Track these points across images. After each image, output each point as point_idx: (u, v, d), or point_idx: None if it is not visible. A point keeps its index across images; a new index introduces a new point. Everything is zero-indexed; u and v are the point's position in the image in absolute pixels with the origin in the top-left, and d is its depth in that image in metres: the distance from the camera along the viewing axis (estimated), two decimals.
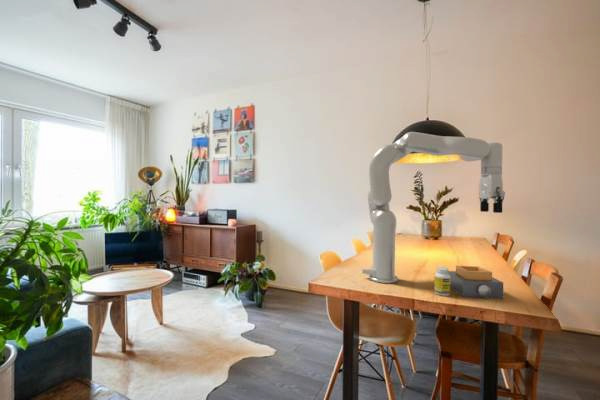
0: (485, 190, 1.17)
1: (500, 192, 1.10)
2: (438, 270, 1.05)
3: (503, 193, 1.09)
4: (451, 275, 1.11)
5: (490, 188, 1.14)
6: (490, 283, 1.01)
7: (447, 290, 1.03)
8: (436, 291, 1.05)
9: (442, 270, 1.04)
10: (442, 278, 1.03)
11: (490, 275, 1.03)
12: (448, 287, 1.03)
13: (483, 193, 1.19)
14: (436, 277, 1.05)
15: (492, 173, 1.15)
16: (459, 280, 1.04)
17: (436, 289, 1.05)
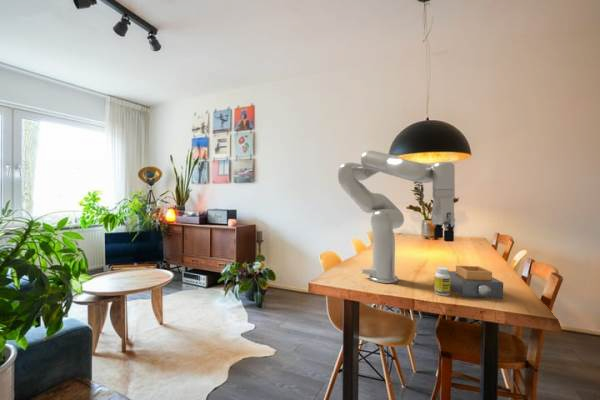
0: (436, 215, 1.05)
1: (450, 219, 0.98)
2: (438, 270, 1.05)
3: (453, 220, 0.97)
4: (451, 275, 1.11)
5: (440, 214, 1.01)
6: (490, 283, 1.01)
7: (447, 290, 1.03)
8: (436, 291, 1.05)
9: (442, 270, 1.04)
10: (442, 278, 1.03)
11: (490, 275, 1.03)
12: (448, 287, 1.03)
13: (435, 218, 1.06)
14: (436, 277, 1.05)
15: (443, 196, 1.02)
16: (459, 280, 1.04)
17: (436, 289, 1.05)
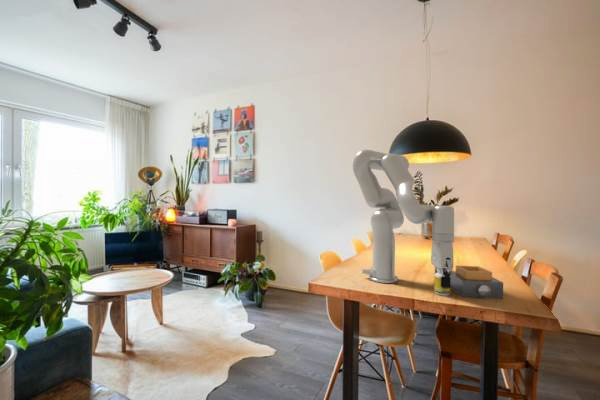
0: (435, 258, 1.05)
1: (448, 268, 0.99)
2: (438, 270, 1.05)
3: (450, 271, 0.98)
4: (451, 275, 1.11)
5: (439, 258, 1.01)
6: (490, 283, 1.01)
7: (447, 290, 1.03)
8: (436, 291, 1.05)
9: None
10: None
11: (490, 275, 1.03)
12: None
13: (434, 261, 1.06)
14: (436, 277, 1.05)
15: (442, 241, 1.02)
16: (459, 280, 1.04)
17: (436, 289, 1.05)
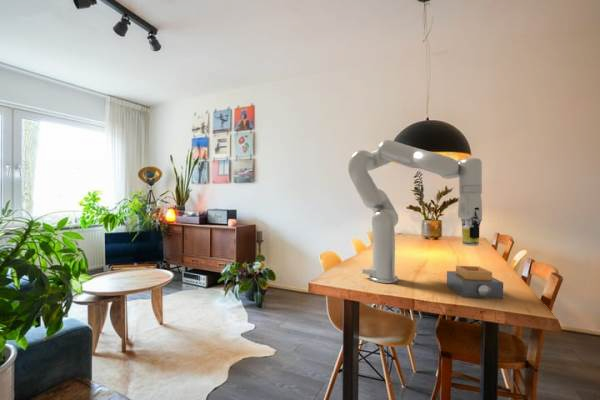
0: (463, 210, 1.07)
1: (477, 217, 1.01)
2: (466, 222, 1.07)
3: (480, 219, 1.00)
4: (451, 275, 1.11)
5: (468, 209, 1.03)
6: (490, 283, 1.01)
7: (476, 240, 1.05)
8: (465, 242, 1.07)
9: None
10: None
11: (490, 275, 1.03)
12: (477, 238, 1.05)
13: (462, 213, 1.08)
14: (464, 229, 1.07)
15: (470, 192, 1.04)
16: (459, 280, 1.04)
17: (465, 240, 1.07)
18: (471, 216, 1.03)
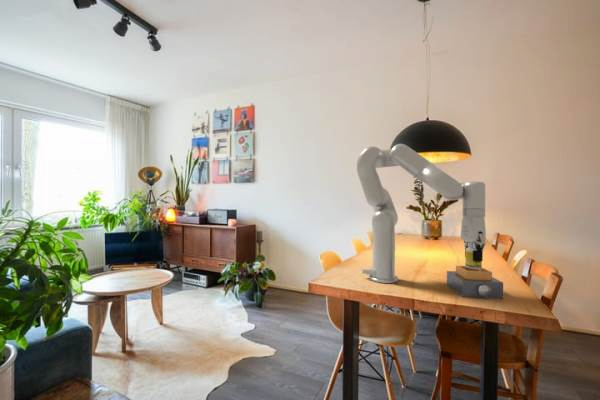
0: (467, 233, 1.07)
1: (481, 241, 1.01)
2: (469, 245, 1.07)
3: (483, 244, 1.00)
4: (451, 275, 1.11)
5: (472, 232, 1.04)
6: (490, 283, 1.01)
7: (479, 264, 1.05)
8: (468, 265, 1.07)
9: None
10: None
11: (490, 275, 1.03)
12: (480, 261, 1.05)
13: (465, 236, 1.08)
14: (468, 251, 1.07)
15: (474, 215, 1.04)
16: (459, 280, 1.04)
17: (468, 263, 1.07)
18: (475, 240, 1.03)
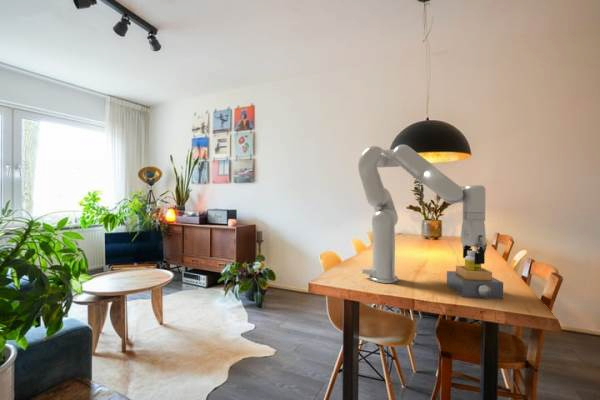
0: (466, 237, 1.07)
1: (482, 243, 1.00)
2: (469, 253, 1.07)
3: (485, 244, 0.99)
4: (451, 275, 1.11)
5: (472, 236, 1.04)
6: (490, 283, 1.01)
7: None
8: None
9: (473, 253, 1.06)
10: (474, 261, 1.05)
11: (490, 275, 1.03)
12: (479, 269, 1.05)
13: (465, 239, 1.08)
14: (467, 260, 1.07)
15: (474, 219, 1.04)
16: (459, 280, 1.04)
17: None
18: (474, 243, 1.03)
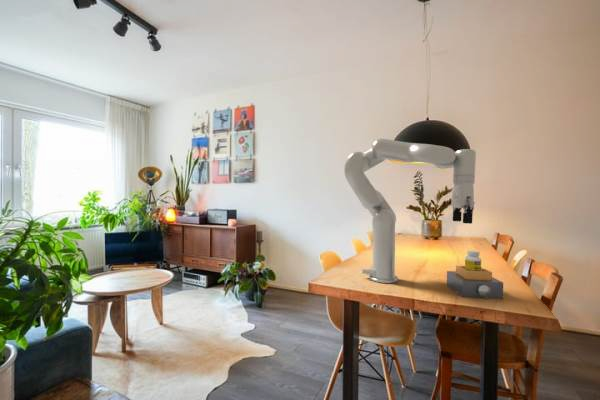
0: (456, 199, 1.11)
1: (469, 202, 1.04)
2: (469, 253, 1.07)
3: (472, 203, 1.03)
4: (451, 275, 1.11)
5: (460, 197, 1.08)
6: (490, 283, 1.01)
7: None
8: None
9: (473, 253, 1.06)
10: (474, 261, 1.05)
11: (490, 275, 1.03)
12: (479, 270, 1.05)
13: (454, 202, 1.13)
14: (467, 260, 1.07)
15: (463, 181, 1.08)
16: (459, 280, 1.04)
17: None
18: (463, 204, 1.07)
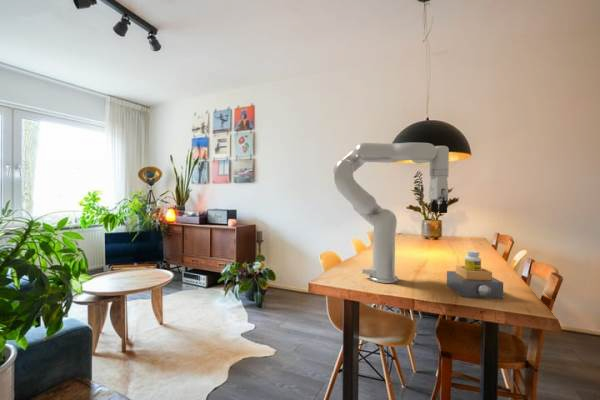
0: (432, 192, 1.22)
1: (444, 193, 1.15)
2: (469, 253, 1.07)
3: (446, 194, 1.14)
4: (451, 275, 1.11)
5: (436, 189, 1.19)
6: (490, 283, 1.01)
7: None
8: None
9: (473, 253, 1.06)
10: (474, 261, 1.05)
11: (490, 275, 1.03)
12: (479, 270, 1.05)
13: (431, 194, 1.23)
14: (467, 260, 1.07)
15: (438, 175, 1.19)
16: (459, 280, 1.04)
17: None
18: (438, 196, 1.18)
